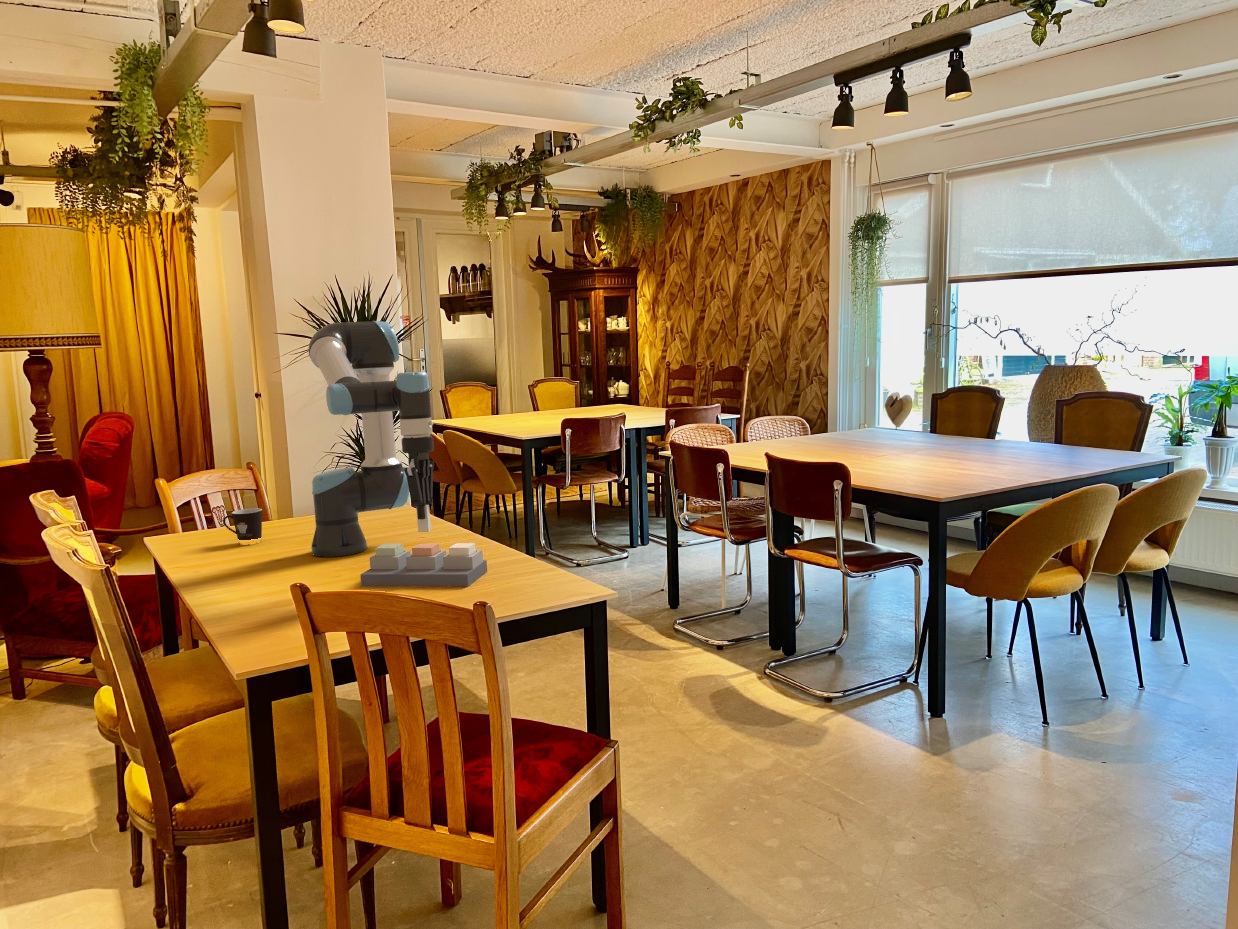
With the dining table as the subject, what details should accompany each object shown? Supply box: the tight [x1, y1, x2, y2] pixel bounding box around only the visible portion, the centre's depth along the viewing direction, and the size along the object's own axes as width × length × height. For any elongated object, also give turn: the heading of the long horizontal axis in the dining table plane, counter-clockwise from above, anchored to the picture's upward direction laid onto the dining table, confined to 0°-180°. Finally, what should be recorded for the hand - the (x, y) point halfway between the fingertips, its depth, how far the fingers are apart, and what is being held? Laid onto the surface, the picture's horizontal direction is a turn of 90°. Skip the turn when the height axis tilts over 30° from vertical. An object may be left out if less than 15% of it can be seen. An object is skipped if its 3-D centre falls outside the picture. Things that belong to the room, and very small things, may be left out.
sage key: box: [375, 543, 405, 557], centre depth 220 cm, size 5×5×3 cm
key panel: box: [359, 549, 488, 588], centre depth 217 cm, size 27×14×6 cm, turn 80°
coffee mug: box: [222, 508, 263, 540], centre depth 272 cm, size 12×9×10 cm
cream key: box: [448, 542, 477, 556], centre depth 217 cm, size 5×5×3 cm
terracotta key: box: [411, 542, 441, 556], centre depth 218 cm, size 5×5×3 cm
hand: (424, 531), depth 218 cm, fingers closed
